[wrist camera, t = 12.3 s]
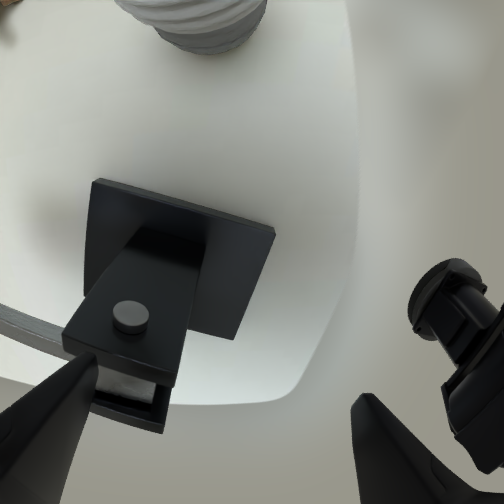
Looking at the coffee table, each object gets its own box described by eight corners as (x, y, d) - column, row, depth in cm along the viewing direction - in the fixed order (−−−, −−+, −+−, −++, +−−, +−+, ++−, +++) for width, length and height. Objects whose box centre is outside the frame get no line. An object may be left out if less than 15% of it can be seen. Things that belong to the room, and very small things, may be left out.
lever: (-36, 296, 11) (-65, 332, 8) (-46, 244, 9) (-84, 278, 6) (158, 364, 14) (150, 422, 11) (168, 314, 13) (157, 377, 9)
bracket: (89, 288, 21) (20, 396, 11) (99, 177, 17) (-21, 253, 7) (233, 330, 23) (230, 463, 13) (274, 227, 19) (307, 357, 9)
